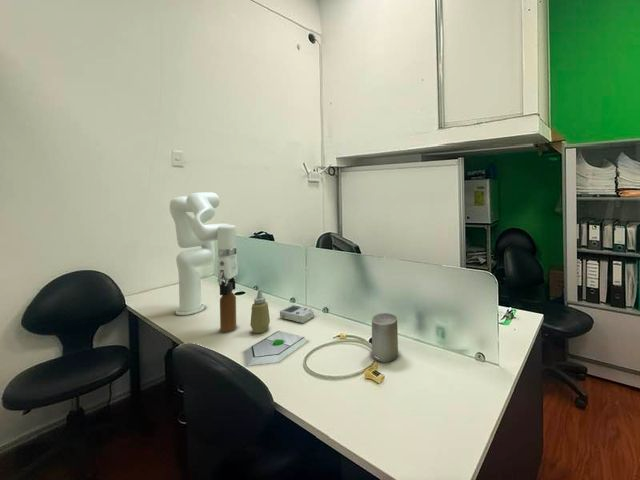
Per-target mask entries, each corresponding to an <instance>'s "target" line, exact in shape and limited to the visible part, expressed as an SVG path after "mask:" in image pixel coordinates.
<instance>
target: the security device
mask: <svg viewBox="0 0 640 480" xmlns="http://www.w3.org/2000/svg"><path fill="white" fill-rule="evenodd" d="M306 343H307V340H306V337H305V336H302V335H298V334H293V333H290V332H286V331H281V330H277V331H275V332H274V333H272V334H270V335H269V336H267V337H265V338H264V339H262V340H260V341H258V342H256V343H255V344H253V345H252V346H250V347H249V348H248V349H246V350H245V351H244V354H245V361H246V366H254V365H265V364H272V363H273V364H274V363H279V362H280V361H282V360H283V359H285V358H286V357H288V356H289V355H290V354H292V353H293V352H294V351H296V350H297V349H300V347H301V346H303V345H304V344H306Z"/></svg>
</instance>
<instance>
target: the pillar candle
mask: <svg viewBox="0 0 640 480" xmlns="http://www.w3.org/2000/svg"><path fill="white" fill-rule="evenodd" d="M370 320H371V355H372V358H373V360H376V361H378V362H381V363H388V362H389V363H390V362H393V361H394V360H396V359H397V357H398V356H399V338H398V337H399V336H398V335H399V333H398V317H397V316H396V315H394V314H392V313H387V312H381V313H377V314H374V315H372V317H371V318H370ZM375 356H376V357H378V358H379V359H378V358H376V357H375Z"/></svg>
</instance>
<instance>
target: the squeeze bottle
mask: <svg viewBox="0 0 640 480" xmlns="http://www.w3.org/2000/svg"><path fill="white" fill-rule="evenodd" d="M270 323H271V319H270V310H269V302H268V301H267V300H266V297H265V296H264V295H263V291H262V289H258V290H257V295H256V297H255V298H254V299H253V304H252V305H251V313H250V324H249V325H250V328H251V330H252V332H253V333H254V334H261V333H266V331H268V329H269V326H270Z"/></svg>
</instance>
